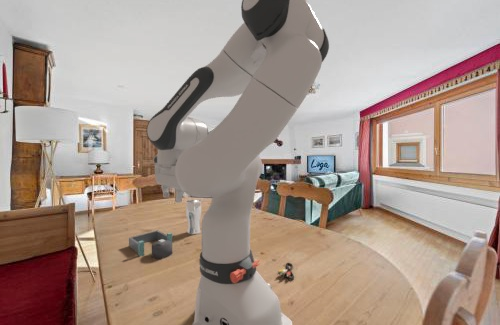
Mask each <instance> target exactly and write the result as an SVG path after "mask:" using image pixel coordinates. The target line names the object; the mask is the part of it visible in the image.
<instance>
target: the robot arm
mask: <svg viewBox="0 0 500 325" xmlns="http://www.w3.org/2000/svg"><path fill="white" fill-rule="evenodd" d="M240 6H241V7H240V8H241V17H242V20H243V23H242V24H241V25H240V26H239V28H237V30H236V31H234V33H233V34H232V36H230V38H229V39H228V41H227V42H226V44H225V45H224V47H223V48H222V49H221V51H220V52H219V54H218V55H217V56H216V57H215V58H214V59H212V61H210V62H209V63H207V65H204V66H203V67H200V68H198V69H197V70H195V71H194V72H193V73H192V74H191V75H190V76H189V77H188V78H187V79H186V80H185V81H184V83H183V84H182V85H181V86H180V87H179V89H178V90H177V91H176V93H174V95H173V96H172V97H171V98H170V99H169V101H168V102H167V103H166V104H165V105H164V106H163V108H162V109H161V110H159V111H158V112H156V113H155V114H154V115H153V116H152V117H151V118H150V119H149V121H148V122H147V125H146V136H147V139H148V140H149V142H150V143H151V144H152V145H153V147H155V148H156V149H157V154H156V155H155V156H154V157H153V159H152V160H153V161H152V162H153V164H154V178H155V182H156V184H158V185H161V186H160V187H161V190H162V191H161V192H162V197H163V198H164V199H165V198H166V199H167V198H168V199H169V198H170V195H171V194H170V191H169V188H172V189H175V192H176V195H175V196H174V202H175V203H178V204H179V203H182V202H183V197H184V194H186V195H188V196H190V197H193V198H211V201H210V204H209V206H208V207H207V208H208V209H207V210H206V211H205V213H204V215H203V217H202V219H201V252H200V254H199V260H198V264H199V272H200V279H199V282H198V286H197V289H196V295H195V308H194V320H193V322H192V324H191V325H293V321H292V320H291V319H290V318H289V317H288V316H287V315H286V314H284V313H283V312H282V309H281V302H280V300H279V297H278V295H277V294H276V293H275V292H274V290H273V288H272V285H271V284H270V283H269V282H266V280H265V279H264V278H263V277H262V275H261V274H260V273H259V272H258V271H257V267H258V266H260V261H261V260H260V259H257V260H256V261H255V258H254V255H253V251H252V250H251V217H252V210H253V204H254V200H255V196H256V195H255V194H256V189H257V185H258V180H260V179H259V178H260V177H261V175H262V173H263V161H262V158H261V157H260V154H261V153H262V152H263V151H264V150H265V149H266V148H268V147H269V146H271V145H272V144H273V143H274V142H275V141H276V140H277V139H278V137H279V136H280V134H281V133H282V132H283V130H284V129H285V128H286V127H287V125H288V123H289V122H290V120H291V119H292V117H293V116H294V115H295V113H296V112H297V111H298V109H299V108H300V107H301V105H302V103H303V102H304V100H305V99H306V97H307V96H308V93H309V92H310V90H311V88H312V87H313V84H314V83H315V81H316V78H317V77H318V74H319V72H320V70H321V67H322V64H323V62H324V61H325V59H326V57H327V55H328V53H329V49H330V44H329V43H330V42H329V38H328V35H327V32H326V30H325V29H324V27H323V26H322V25H321V24H320V21H319V20H318V18H317V17H316V15H315V12H314V11H313V10H312V7H311V5H310V4H309V3H308V1H307V0H241V5H240ZM236 96H240V97H239V98H238V100H237V101H236V103H235V105H234V106H233V107H232V109H231V110H230V111H229V113H228V114H227V115H226V116H225V117H224V118H223V119H222V120H221V121H220V122H219V124H218V125H217V126H215V127H214V129H213V128H212V131H210V132H209V129H208V126H207V125H206V124H205V122H204V121H202V120H199V119H197V118H194V117H191V116H190V115H191V113H192V112H194V110H195V109H196V108H197V107H198V106H199V105H200V104H202V103H203V102H205V101H207V100H210V99H215V98H222V97H223V98H226V97H227V98H229V97H230V98H231V97H236Z"/></svg>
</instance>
